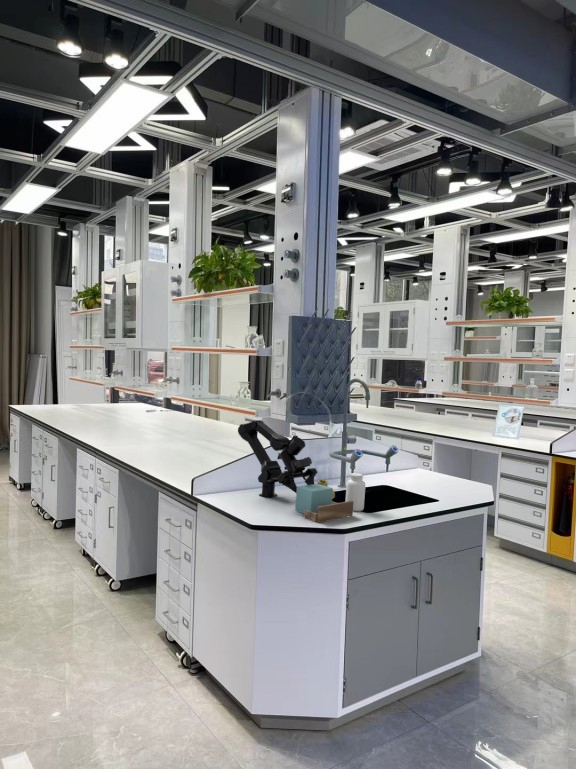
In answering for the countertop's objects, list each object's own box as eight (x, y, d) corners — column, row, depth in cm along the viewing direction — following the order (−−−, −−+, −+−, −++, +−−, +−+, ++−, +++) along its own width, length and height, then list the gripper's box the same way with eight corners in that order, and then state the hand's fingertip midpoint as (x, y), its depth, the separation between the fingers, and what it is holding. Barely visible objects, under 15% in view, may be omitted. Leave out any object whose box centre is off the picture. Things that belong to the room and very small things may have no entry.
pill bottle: (349, 511, 237) (351, 476, 237) (342, 506, 245) (344, 472, 244) (366, 511, 240) (369, 476, 239) (359, 506, 247) (361, 472, 247)
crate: (295, 510, 234) (296, 486, 233) (316, 506, 242) (317, 483, 241) (310, 516, 227) (311, 491, 226) (331, 512, 235) (332, 488, 234)
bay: (304, 518, 223) (305, 502, 223) (339, 511, 237) (340, 497, 237) (317, 522, 218) (318, 507, 217) (353, 515, 231) (354, 501, 231)
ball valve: (335, 503, 253) (321, 495, 261) (337, 481, 251) (323, 474, 259) (312, 508, 246) (299, 499, 254) (314, 485, 244) (301, 477, 252)
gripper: (283, 452, 235) (300, 483, 227) (315, 449, 247) (332, 479, 239) (270, 467, 241) (286, 499, 233) (302, 464, 253) (318, 494, 245)
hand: (306, 492), depth 238 cm, fingers open, 9 cm apart
